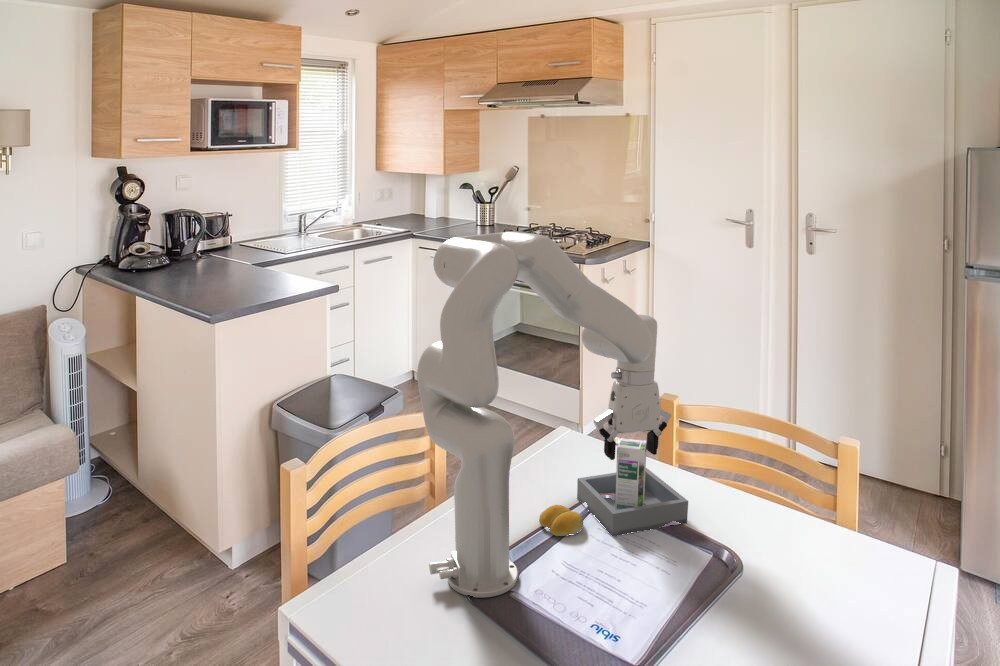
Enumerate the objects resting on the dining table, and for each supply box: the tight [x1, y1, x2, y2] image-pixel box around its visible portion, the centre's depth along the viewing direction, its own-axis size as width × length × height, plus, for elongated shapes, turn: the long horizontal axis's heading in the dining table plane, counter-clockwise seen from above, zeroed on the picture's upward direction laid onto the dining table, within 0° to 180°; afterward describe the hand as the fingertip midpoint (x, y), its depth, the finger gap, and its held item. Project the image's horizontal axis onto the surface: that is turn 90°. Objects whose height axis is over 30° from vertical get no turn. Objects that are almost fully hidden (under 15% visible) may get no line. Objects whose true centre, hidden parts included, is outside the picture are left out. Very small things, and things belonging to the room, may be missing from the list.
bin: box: [576, 467, 689, 537], centre depth 151 cm, size 17×17×5 cm
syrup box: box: [615, 437, 647, 510], centre depth 149 cm, size 6×6×14 cm
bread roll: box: [538, 504, 584, 537], centre depth 145 cm, size 8×9×4 cm
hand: (630, 454), depth 148 cm, fingers open, 9 cm apart
